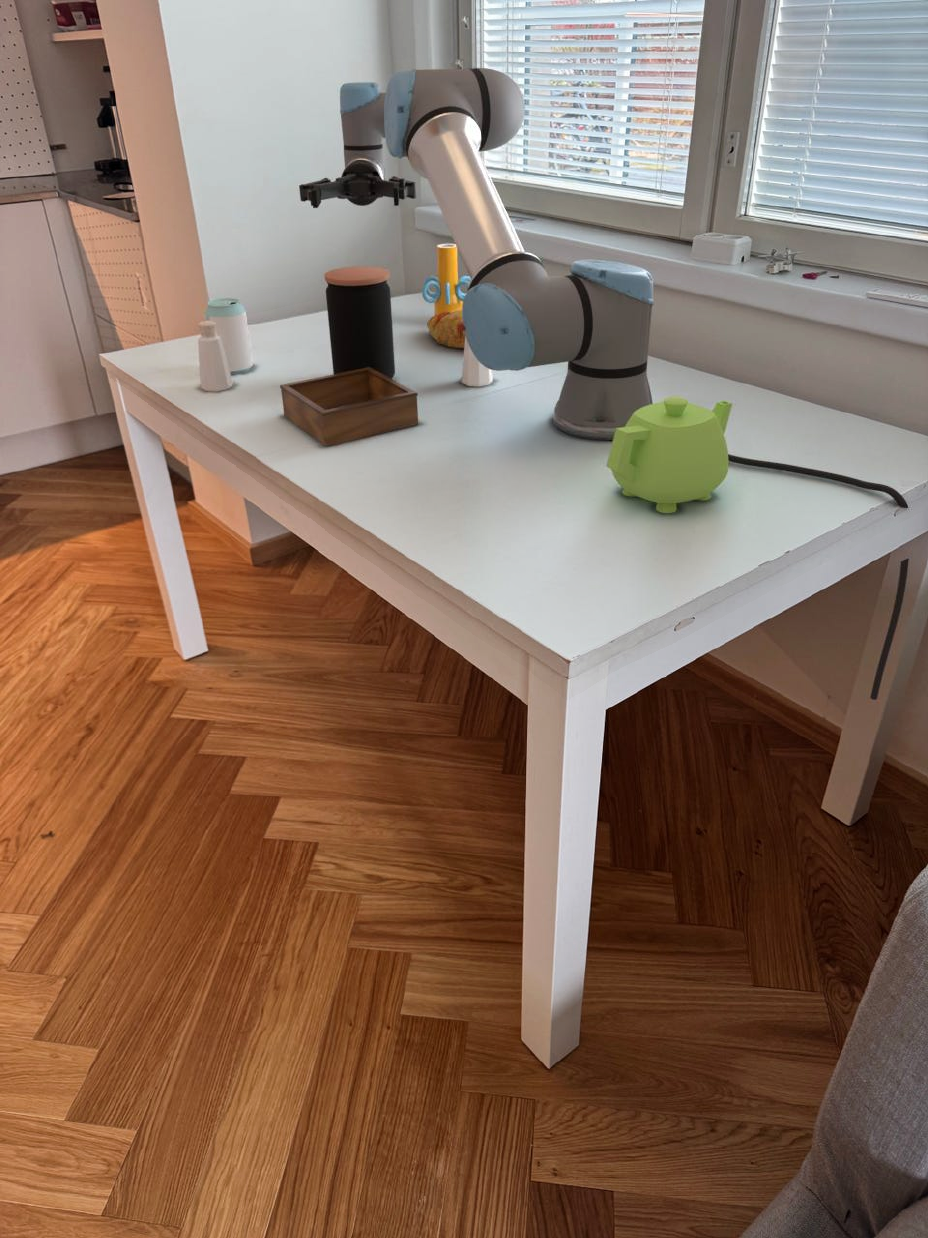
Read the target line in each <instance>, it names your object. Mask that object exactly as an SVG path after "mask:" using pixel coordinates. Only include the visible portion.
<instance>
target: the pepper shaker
mask: <svg viewBox="0 0 928 1238" xmlns="http://www.w3.org/2000/svg"><path fill="white" fill-rule="evenodd" d="M462 359H463V361H462V371H461V372H462V374H461V383H462V384H463V385H466V386H467V387H476V388H477V387H478V388H480V387H485V386H489V385H490V384H491V383H492V382H493V381H494V380H493V370H491V369H488V368H486V367H485V366H483V365H482V364H481V363H480V362H479V361H478V360H477V358H476V357H475V356H474V354H473V352H472V351H471V349H470V346H469V344H468V342H467V339H466V335H465V345H464V348H463V358H462Z"/></svg>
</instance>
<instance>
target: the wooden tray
mask: <svg viewBox="0 0 928 1238" xmlns="http://www.w3.org/2000/svg"><path fill="white" fill-rule="evenodd" d="M279 389H280V392H281V402H282V408H283V416H284V418H286V419H287V420H288V421H290V422H291V423H293V424H294V425H295V426H297V427H298V428H300V430H302V431H303V432H305V433H307V434H308V435H309V436H311V437H312V438H314V439H315V440H316V441H318V443H321V444H323V446H325V447H329V446H335V445H338V444H342V443H347V442H350V441H355V440H360V439H364V438H368V437H373V436H376V435H380V434H384V433H388V432H394V431H397V430H402V429H407V428H410V427H414V426H418V425H419V410H418V396H419V393H418V392H417V391H415V390H414V389H411V388H410V387H408V386H406V385H404V384H402V383H400V382H399V381H397V380H395V379H393V378H392V379H391V378H389V377H387V376H385V375H383V374H382V373H380V372H378V371H376V370H374V369H372V368H370V367H368V368H363V369H358V370H353V371H348V372H343V373H338V374H329V375H324V376H319V377H314V378H308V379H303V380H297V381H293V382H288V383H283V384H280V385H279Z"/></svg>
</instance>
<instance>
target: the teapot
mask: <svg viewBox="0 0 928 1238" xmlns="http://www.w3.org/2000/svg"><path fill="white" fill-rule="evenodd" d="M732 406H733V402H730V401H727V400H721V401H716V403H715V406H714V407H713V409H712V410H710V409H708V408H705V407H704V406H700V405H697V404H694V403H692V402H689V400H688V399H686V398H684V397H680V396H669V397H665V398H664V399H663V401H661V402H655V403H653V404H650V405H647V406H644V407H642V408H640V409H638V410H637V411H635V412H634V413H633V415H632V416H631V418H630V419H629V421H628V422H627V424H626V426H625V427H622V428H616V431H615V435H614V438H613V440H612V442H611V446H610V450H609V454H608V456H607V457H608V458H607V461H606V465H605V467H607V468H608V469H610V470H611V473H612V476H613V478H614V479H615V481H616V482H617V484H618V485H619V486H620V487H621V488H622V489H623V490H622V494H623V495H624V496H627V497H638V498H640V499H644V500H647V501H650V502H652V503H653V502H654V503H656V506H655V510H656V511H657V512H658V513H662V514H672V513H675V512H676V511H677V504H678V503H685V502H691V501H709V500H710V499H711V498H712V496H711V493H713V492H714V490H716V489H717V488H718V487H719V486H720V485H721V484H722V482H723V481H724V480H725V479H726V477H727V475H728V472H729V461H728V454H729V450H728V444H727V441H726V437H725V433H726V428H727V425H728V421H729V417H730V414H731V410H732Z"/></svg>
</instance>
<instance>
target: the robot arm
mask: <svg viewBox="0 0 928 1238" xmlns="http://www.w3.org/2000/svg"><path fill="white" fill-rule="evenodd" d="M524 98H525V97H524V94H523V92H522V91H521V88H520V87H519V85H518V83H517V82H516V81H515V80H514V79H512V78H511V77H510V76H509V75H508V74H506V73H504V72H503V71H500V70H496V69H492V68H486V67H473V68H435V69H434V68H432V69H431V68H430V69H416V68H413V69H411V70H403V71H397V72H395V73H394V74H392V75H391V77H390V78H389V79H388V82H387V86H386V90H385V92H381V89H380V85H379V83H377V82H374V81H373V82H372V81H362V82H360V81H359V82H358V81H357V82H346V83H345V82H344V84H342V85H341V87H340V89H339V102H340V103H339V107H340V109H339V113H340V120H341V130H342V141H343V158H344V159H343V161H344V170H343V172H342V174H341V176H340V177H339V176H338V177H336V178H335V180H334V181H331V179H330V178H329V177H324V178H322V179H320V180H316V181H311V182H307V183H304V184H302V183H301V184H300V185H298V187H299V189H298V190H299V198H300V199H299V200H300V201H301V202H307V201H308V202H310V207H312V208H313V209H318V208H319V207H320V205H321V203H322V201H324V200H325V201H326V200H330V199H335V198H337V199H339V200H348V202H350V203H351V204H353V205H355V206H357V207H358V206H359V207H366V206H369V205H371V204H373V203H374V202H375V201H376V200H378V199H380V198H383V197H385V198H391V199H393V206H394V207H399V206H400V200H402V201H403V200H405V199H412V200H415V199H417V183H416V181H411V180H406V178H399V176H395V175H393V176H391V177H388V180H386V168H385V165H384V150H383V148H384V147H383V139H385V143H386V147H387V151H388V153H389V154H390V156H392V157H393V158H398V159H403V158H406V157H407V159H408V162H409V164H410V167H411V168H412V169H413V171H414V172H415V173H416V174H417V175H418V176H419V177H421V178H423V179H425V180H426V179H427V181H428V183H429V185H430V188H431V190H432V193H433V195H434V197H435V200H436V202H437V204H438V207H439V209H440V212H441V214H442V216H443V219H444V221H445V223H446V225H447V227H448V230H449V233H450V235H451V237H452V240H453V242H454V244H455V245H456V247H457V252H458V253H459V256H460V258H461V260H462V263H463V265H464V268H465V269H466V272H467V276H469V277H470V279H471V280H470V282H469V285H468V287H467V288H466V295H465V297H463V298H464V301H463V305H462V320H463V325H464V326H465V328H466V331H465V335H466V339H467V342H468V344H469V346H470V349H471V351H472V352H473V354H474V356H475V357H476V358H477V360H478V361H479V362H480V363H481V364H482V365H483V366H485V367H486V368H488V369H491V370H492V371H496V372H500V371H501V372H502V371H516V372H517V371H522V370H524V369H527V368H533V367H540V366H546V365H547V366H548V365H554V364H559V363H561V364H562V363H567V372H566V376H565V379H564V381H563V383H562V387H561V390H560V394H559V397H558V400H557V401H556V403H555V406H554V409H553V423H554V426H555V427H556V428H558V429H559V430H560V431H562V432H564V433H567V434H568V435H571V436H574V437H578V438H583V439H590V440H603V441H606V440H607V441H609V440H610V441H611V440H612V441H613V438H614V435H615V431H616V428H622V427H625V426H626V424H627V422H628V421H629V419H630V418H631V416H632V415H633V413H634V412H635V411H637V410H638V409H640V408H642V407H644V406H647V405H650V404H654V403H653V397H652V392H651V387H650V383H649V378H648V373H647V370H648V359H649V350H650V349H649V348H650V336H651V325H652V313H653V306H654V304H655V300H654V279H653V276H652V275H651V273H650V272H649V271H648V270H646V269H645V268H642V267H640V266H636V265H633V264H627V263H623V262H618V261H610V260H599V259H579V260H575V261H573V262H572V263H571V268H570V269H569V272H570V274H568V275H558V276H549V275H548V273H547V270H546V269H545V266H544V264H543V262H542V261H541V259H540V258H539V257H538V256H537V255H535V254H533V253H531V252H527V251H526V250H525V249H524V247H523V244H522V243H521V240H520V238H519V236H518V234H517V232H516V229H515V227H514V225H513V223H512V221H511V218H510V216H509V214H508V212H507V210H506V208H505V205H504V203H503V202H502V199H501V197H500V194H499V192H498V191H497V188H496V186H495V184H494V182H493V180H492V178H491V175H490V173H489V171H488V169H487V167H486V164H485V162H484V160H483V158H482V156H481V154H480V152H487V151H492V150H495V149H497V148H500V147H502V146H505V145H506V144H508V143H509V142H510V141H511V140H512V139H514V138H515V137H516V135H517V134H518V133H519V131H520V129H521V128H522V125H523V124H524V123H523V122H524V121H525V120H524V119H525V114H526V105H525V104H526V103H525V99H524ZM728 462H730V463H735V464H740V465H744V466H749V467H756V468H763V469H770V470H777V471H784V472H789V473H793V474H799V475H805V476H810V477H816V478H819V479H820V478H821V479H826V480H829V481H835V482H839V483H843V484H846V485H850V486H853V487H857V488H861V489H865V490H870V491H876V492H881V493H885V494H887V495H889V496H890V497H891V498H892V499H893V501H895V502H896V504H897V505H898V507H900V508H903V509H909V505H908V503H907V501H906V499H905V498H904V497H903V496H902V494H901V493H899V491H898V490H896V489H895V488H893V487H892V486H889V485H886V484H882V483H878V482H877V483H876V482H871V481H866V480H861V479H859V478H855V477H852V476H847V475H844V474H838V473H834V472H830V471H824V470H819V469H815V468H809V467H804V466H798V465H793V464H787V463H781V462H775V461H768V460H767V461H766V460H760V459H753V458H748V457H743V456H737V455H734V454H729V453H728ZM909 561H910V559H909V558H906V559H904V560H901V561H900V566H899V574H898V575H899V577H898V583H897V590H896V594H895V599H894V600H895V601H894V605H893V609H892V613H891V617H890V621H889V622H890V623H889V625H888V628H887V633H886V635H885V639H884V642H883V646H882V649H881V654H880V656H879V661H878V664H877V668H876V671H875V674H874V679H873V684H872V689H871V691H870V692H871V693H870V697H869V698H870V699H871V700H873V701H876V700H878V697H879V692H880V687H881V683H882V680H883V676H884V672H885V668H886V664H887V662H888V661H887V660H888V657H889V653H890V651H891V647H892V643H893V640H894V638H895V637H894V636H895V633H896V630H897V627H898V622H899V620H900V619H899V618H900V615H901V611H902V605H903V601H904V597H905V591H906V590H905V589H906V585H907V578H908V572H909V571H908V569H909Z"/></svg>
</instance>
